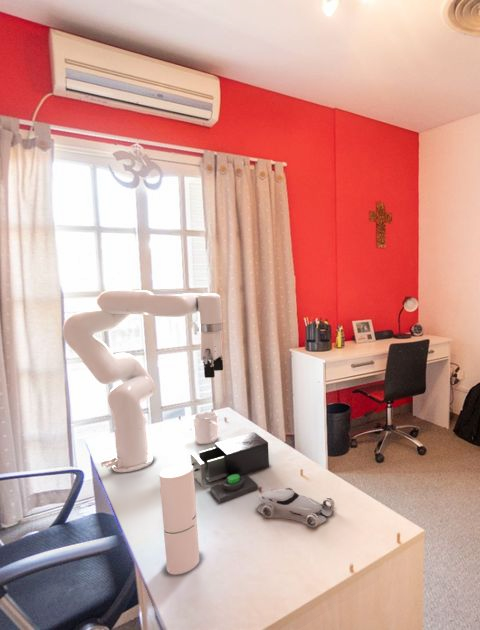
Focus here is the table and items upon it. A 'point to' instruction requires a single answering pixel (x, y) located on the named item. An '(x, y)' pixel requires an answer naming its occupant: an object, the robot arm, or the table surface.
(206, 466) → the drawer
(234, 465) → the cabinet
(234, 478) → the button
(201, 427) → the mug
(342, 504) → the table surface
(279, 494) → the car model
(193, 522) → the cylindrical container
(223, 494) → the control block
